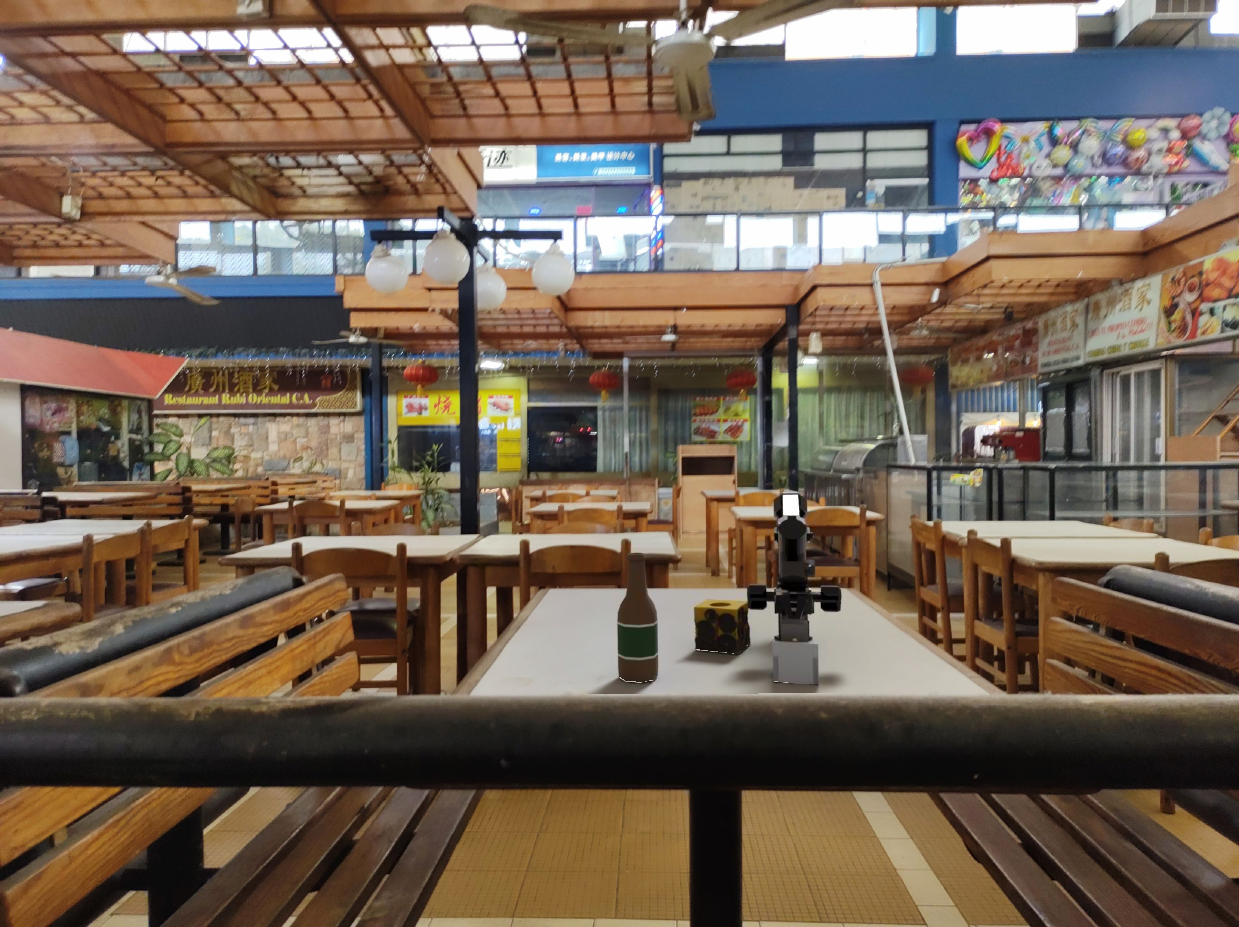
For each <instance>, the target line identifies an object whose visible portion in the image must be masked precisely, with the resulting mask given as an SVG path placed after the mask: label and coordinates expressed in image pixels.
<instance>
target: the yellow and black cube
mask: <svg viewBox="0 0 1239 927" xmlns="http://www.w3.org/2000/svg"><path fill="white" fill-rule="evenodd" d="M693 613H694V614H693V617H694V618H693V619H694V620H693V621H694V626H695V627H694V631H695V632H694V633H695V634H694V635H695V637H694V645H695V647H694V650H695V649H700V650H708V651H718V652H727V653H734V654H737V655H740V654H741V653H742V652H743V651H745V650H746V649H747V648H746V646H747V645H749V646H750V645H751V628H750V627H751V626H750V623H749V617H748V615H749V608H748V602H747V600H730V599H729V600H728V599H711V598H710V599H709V598H708V599H704V600H703V601H702V602H700V603H698V604H697V605H696V604H695V606H693ZM747 647H748V646H747ZM745 648H746V649H745ZM744 649H745V650H744ZM742 650H743V651H742ZM741 651H742V652H741ZM740 652H741V653H740ZM739 653H740V654H739Z"/></svg>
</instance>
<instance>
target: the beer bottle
mask: <svg viewBox="0 0 1239 927" xmlns="http://www.w3.org/2000/svg"><path fill="white" fill-rule="evenodd" d="M626 560H627V581H626V582H627V583H626V591H625V596H624V598H623V599H622V601H621V603H620V605H619V608H618V611H617V619H616V620H617V621H616V622H617V623H616V626H617V628H616V629H617V631H616V632H617V672H618V678H619V677H621V678H622V679H624V680H625V681H636V682H645V681H649V680H654V679H655V678H656V677H657V678H658V677H659V637H658V636H659V634H658V633H659V630H658V627H659V626H658V625H659V624H658V611H657V608H656V605H655V602H654V601H653V600H652V599H651V597H650V595H649V592H648V584H647V574H646V562H645V560H647V557H646V553H643V552H630V553H628V554H627V555H626ZM657 678H656V679H657ZM656 679H655V680H656ZM655 680H654V681H655Z"/></svg>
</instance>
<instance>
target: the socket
mask: <svg viewBox="0 0 1239 927" xmlns="http://www.w3.org/2000/svg"><path fill="white" fill-rule="evenodd" d="M819 675H820V674H819V643H818V642H809V641H808V642H799V641H792V640H791V642H783V641H781V640H779V641H777V640H772V679H773V680H772V682H773V681H778V682H788V683H787V684H789V683H793V685H809V684H819V685H820V680H819V679H820V676H819Z"/></svg>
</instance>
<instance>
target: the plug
mask: <svg viewBox="0 0 1239 927" xmlns="http://www.w3.org/2000/svg"><path fill="white" fill-rule="evenodd" d="M791 640H792V641H799V642H809V640H808V621H807V619H781V640H780V641H783V642H791Z"/></svg>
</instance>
